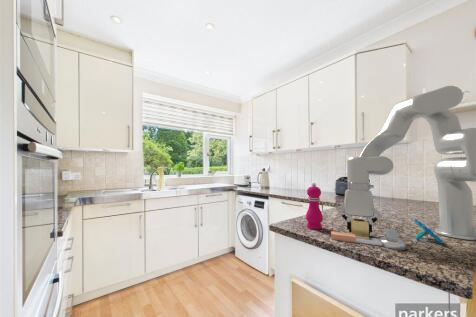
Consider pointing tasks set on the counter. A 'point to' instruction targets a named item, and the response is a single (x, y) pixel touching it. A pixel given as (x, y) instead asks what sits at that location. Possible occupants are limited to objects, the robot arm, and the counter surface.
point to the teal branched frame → (426, 232)
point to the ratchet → (373, 239)
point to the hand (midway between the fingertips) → (359, 232)
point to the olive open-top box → (359, 227)
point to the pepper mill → (314, 208)
